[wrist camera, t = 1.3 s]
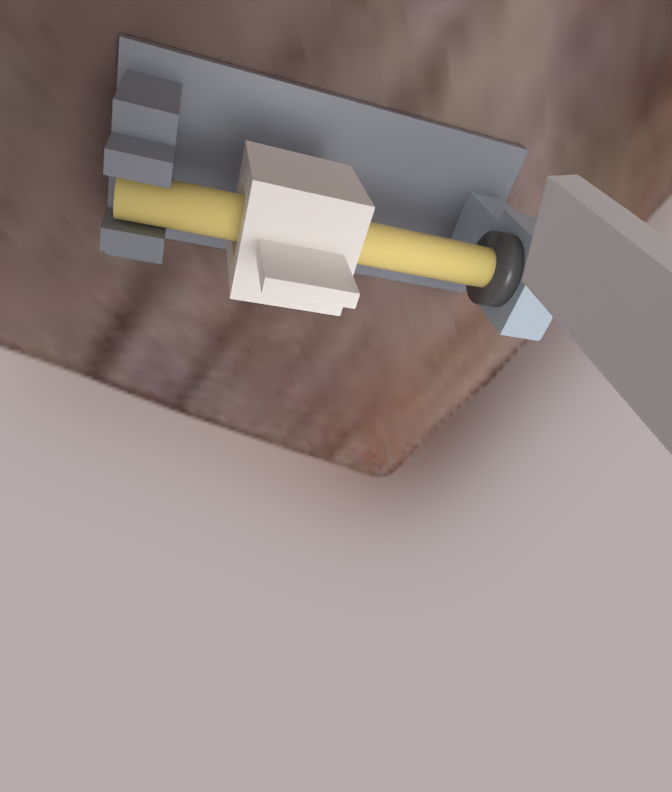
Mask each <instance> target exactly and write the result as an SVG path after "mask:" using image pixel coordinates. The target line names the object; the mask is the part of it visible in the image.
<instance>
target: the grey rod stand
mask: <svg viewBox="0 0 672 792" xmlns="http://www.w3.org/2000/svg"><path fill="white" fill-rule="evenodd" d="M245 140H248V141H252V142H256V143H260V144H264V145H268V146H272V147H277V148H281V149H285V150H289V151H293V152H297V153H301V154H305V155H310V156H314V157H318V158H322V159H326V160H330V161H334V162H338V163H343V164H347V165H351V167H352V168H353V170H354V172H355V173H356V175H357V177H358V179H359V180H360V182H361V184H362V185H363V187H364V189H365V190H366V192H367V194H368V196H369V197H370V199H371V201H372V202H373V204H374V206H375V210H374V213H373V216H372V219H371V222H370V225H369V228H368V231H367V234H366V238H365V241H364V244H363V247H362V250H361V253H360V256H359V259H358V262H357V265H356V268H355V271H354V273H357V274H363V275H368V276H374V277H379V278H385V279H390V280H395V281H401V282H406V283H412V284H417V285H423V286H428V287H434V288H439V289H444V290H450V291H455V292H461V293H464V292H465V290H466V289H467V293H468V296H469V298H470V300H471V301H472V302H474V303H476V304H479V305H480V307H481V308H482V310H483V311H484V312H485V314H486V315H487V317H488V318H489V320H490V321H491V322H492V324H493V325H494V327H495V328H496V329H497V331H498V332H499V334H500V335H506V336H512V337H518V338H524V339H530V340H537V341H540V339H541V337H542V336H543V334H544V332H545V330H546V328H547V327H548V325H549V323H550V322H551V320H552V318H553V316H552V315H551V314H550V313H549V312H548V311H547V310H546V308H545V307H544V306H543V305H542V304H541V303H540V301H539V300H538V299H537V298H536V297H535V296H534V294H533V293H532V292H531V291H530V290H529V289H528V287H527V286H526V285H525V284H524V283H523V282H522V278H523V274H524V270H525V266H526V262H527V258H528V254H529V250H530V246H531V241H532V237H533V233H534V229H535V225H536V221H537V217H535V216H531V215H526V214H522V213H518V212H517V211H516V210H515V209H514V208H513V207H512V206H511V205H510V204H509V203H507V202H506V199H507V197H508V195H509V193H510V191H511V188H512V186H513V184H514V182H515V180H516V177H517V175H518V173H519V171H520V169H521V166H522V164H523V162H524V160H525V158H526V155H527V153H528V151H529V150H528V149H527V148H525V147H524V146H522V145H519V144H515V143H511V142H508V141H504V140H501V139H497V138H494V137H490V136H486V135H483V134H479V133H476V132H472V131H469V130H465V129H461V128H458V127H454V126H451V125H447V124H443V123H440V122H436V121H433V120H429V119H426V118H422V117H418V116H415V115H411V114H408V113H404V112H401V111H397V110H393V109H390V108H386V107H383V106H379V105H375V104H372V103H368V102H365V101H361V100H358V99H354V98H350V97H347V96H343V95H340V94H336V93H333V92H329V91H325V90H322V89H318V88H315V87H311V86H308V85H304V84H300V83H297V82H293V81H290V80H286V79H282V78H279V77H275V76H272V75H268V74H265V73H261V72H257V71H254V70H250V69H247V68H243V67H240V66H236V65H232V64H229V63H225V62H222V61H218V60H214V59H211V58H207V57H204V56H200V55H197V54H193V53H189V52H186V51H182V50H179V49H175V48H172V47H168V46H164V45H161V44H157V43H154V42H150V41H147V40H143V39H139V38H136V37H132V36H129V35H125V34H121V35H120V36H119V53H118V72H117V90H116V93H115V95H114V98H113V107H112V127H111V134H110V136H109V138H108V141H107V143H106V145H105V148H104V166H103V175H107V176H109V185H108V204H107V210H106V213H105V216H104V219H103V222H102V225H101V231H100V250H101V251H105V255H110V256H116V257H122V258H127V259H133V260H139V261H145V262H151V263H157V264H162V260H163V251H164V243H165V238H167V239H172V240H178V241H183V242H189V243H194V244H199V245H205V246H210V247H216V248H221V249H226V245H227V240H232V241H237V240H238V235H239V230H240V224H241V219H242V214H243V209H244V203H245V195H243V194H238V193H236V189H237V184H238V178H239V173H240V167H241V162H242V156H243V150H244V145H245Z"/></svg>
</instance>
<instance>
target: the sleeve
mask: <svg viewBox="0 0 672 792" xmlns="http://www.w3.org/2000/svg"><path fill="white" fill-rule="evenodd" d="M236 193H238V194H243V195H245V203H244V209H243V214H242V219H241V224H240V230H239V235H238V240H237V241H232V240H227V245H226V251H227V265H228V280H229V294H230V299H235V300H242V301H248V302H254V303H261V304H267V305H273V306H280V307H286V308H292V309H298V310H305V311H311V312H317V313H324V314H330V315H336V316H340V315H341V312H342V308H343V307H346V308H353V309H355V308H356V305H357V302H358V299H359V296H360V292H359V290H358V287H357V285H356V282H355V280H354V278H353V275H354V271H355V268H356V265H357V262H358V259H359V256H360V253H361V250H362V247H363V244H364V241H365V238H366V234H367V231H368V228H369V225H370V222H371V219H372V216H373V213H374V210H375V206H374V204H373V202H372V201H371V199H370V197H369V196H368V194H367V192H366V190H365V189H364V187H363V185H362V184H361V182H360V180H359V179H358V177H357V175H356V173H355V172H354V170H353V168H352V167H351V165H347V164H343V163H338V162H334V161H330V160H326V159H322V158H318V157H314V156H310V155H305V154H301V153H297V152H293V151H289V150H285V149H281V148H277V147H272V146H268V145H264V144H260V143H256V142H252V141H248V140H245V145H244V150H243V156H242V162H241V167H240V173H239V178H238V184H237V189H236Z"/></svg>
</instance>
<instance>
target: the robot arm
mask: <svg viewBox="0 0 672 792" xmlns="http://www.w3.org/2000/svg"><path fill="white" fill-rule="evenodd" d="M522 282H523V283H524V284H525V285H526V286H527V287H528V289H529V290H530V291H531V292H532V293H533V294H534V296H535V297H536V298H537V299H538V300H539V301H540V303H541V304H542V305H543V306H544V307H545V308H546V310H547V311H548V312H549V313H550V314H551V315H552V316H553V318H554V319H555V320H556V321H557V322H558V323H559V324H560V326H561V327H562V328H563V329H564V330H565V332H566V333H567V334H568V335H569V336H570V337H571V338H572V340H573V341H574V342H575V343H576V344H577V345H578V347H579V348H580V349H581V350H582V351H583V352H584V354H586V356H587V357H588V358H589V359H590V360H591V361H592V363H593V364H594V365H595V366H596V367H597V369H598V370H599V371H600V372H601V373H602V374H603V376H604V377H605V378H606V379H607V380H608V381H609V383H610V384H611V385H612V386H613V387H614V388H615V389H616V391H617V392H618V393H619V394H620V395H621V396H622V398H623V399H624V400H625V401H626V402H627V403H628V405H629V406H630V407H631V408H632V409H633V410H634V412H635V413H636V414H637V415H638V416H639V417H640V418H641V420H642V421H643V422H644V423H645V424H646V425H647V426H648V428H649V429H650V430H651V431H652V432H653V434H654V435H655V436H656V437H657V438H658V439H659V441H660V442H661V443H662V444H663V445H664V446H665V447H666V449H667V450H668V451H669V452H670V453H671V454H672V241H670V240H669V239H667V238H666V237H664V236H663V235H662V234H660V233H659V232H657V231H656V230H655V229H653V228H652V227H650V226H649V225H648V224H646V223H645V222H644V221H642V220H641V219H639V218H638V217H637V216H635V215H634V214H632V213H631V212H630V211H628V210H627V209H625V208H624V207H622V206H621V205H620V204H618V203H617V202H615V201H614V200H613V199H611V198H610V197H608V196H607V195H606V194H604V193H603V192H601V191H600V190H599V189H597V188H596V187H594V186H593V185H592V184H590V183H589V182H587V181H586V180H585V179H583V178H582V177H580V176H579V175H559V176H547V180H546V185H545V189H544V193H543V197H542V201H541V205H540V209H539V213H538V217H537V221H536V225H535V229H534V233H533V237H532V241H531V246H530V250H529V254H528V258H527V262H526V266H525V270H524V274H523V278H522Z"/></svg>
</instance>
